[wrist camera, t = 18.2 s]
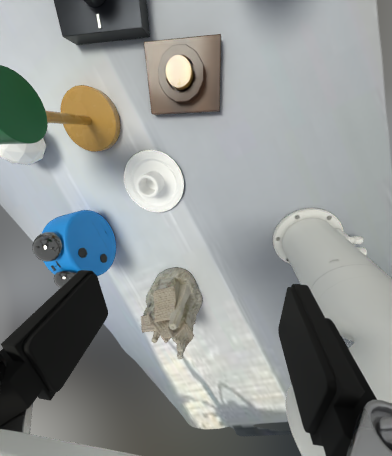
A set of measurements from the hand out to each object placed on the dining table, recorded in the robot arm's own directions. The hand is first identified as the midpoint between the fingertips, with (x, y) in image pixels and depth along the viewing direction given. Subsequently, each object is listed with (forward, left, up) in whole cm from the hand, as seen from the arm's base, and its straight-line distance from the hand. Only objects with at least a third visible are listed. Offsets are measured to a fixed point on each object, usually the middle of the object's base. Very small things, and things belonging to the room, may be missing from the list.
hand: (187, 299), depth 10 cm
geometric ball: (+35, -7, -31) cm, 47 cm away
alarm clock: (+26, +12, -31) cm, 42 cm away
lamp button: (+5, -15, -27) cm, 31 cm away
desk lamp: (+22, -10, -30) cm, 39 cm away
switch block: (+5, -15, -30) cm, 34 cm away
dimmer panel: (+16, -25, -30) cm, 42 cm away
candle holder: (+12, +1, -31) cm, 33 cm away
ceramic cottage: (+11, +30, -31) cm, 44 cm away
